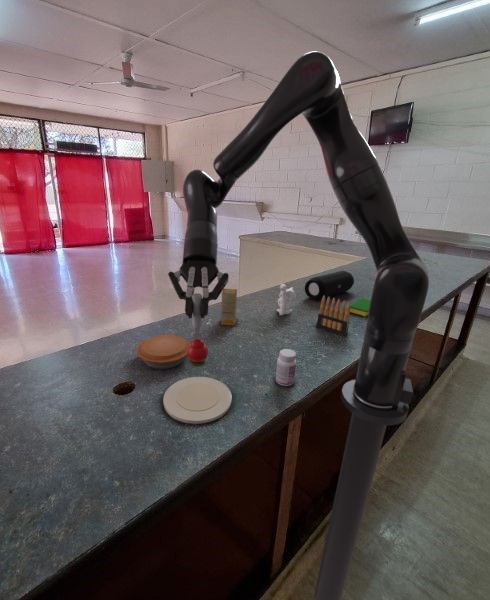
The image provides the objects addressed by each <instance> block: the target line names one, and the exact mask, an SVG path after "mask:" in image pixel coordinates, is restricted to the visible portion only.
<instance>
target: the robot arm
mask: <svg viewBox="0 0 490 600" xmlns="http://www.w3.org/2000/svg"><path fill="white" fill-rule="evenodd" d="M300 115H302V116H303V117H304V119H305V120H306V122H307V123H308V125H309V127H310V128H311V130H312V133H313V134H314V136H315V137H316V139H317V141H318V144H319V146H320V149H321V154H322V157H323V161H324V165H325V166H324V167H325V170H326V174H327V177H328V180H329V184H330V186H331V189H332V190H333V192H334V195H335V198H336V199H337V201H338V203H339V205H340V208H341V209H342V211H343V213H344V215H345V216H346V217H347V219H348V220H349V221H350V223H351V224H352V226H353V227H354V228H355V229H356V231H357V232H358V234H360V236H361V237H362V239H363V240H364V242H365V244H366V245H367V247H368V250H369V252H370V255H371V257H372V261H373V263H374V267H375V269H376V273H377V274H376V276H375V279H374V282H373V286H372V291H371V292H372V293H371V297H370V300H371V302H370V307H369V312H368V315H367V322H366V327H365V331H364V336H363V341H362V346H361V351H360V357H359V361H358V366H357V372H356V376H355V379H356V380H355V379H354V380H355V384H354V388H353V395H354V397H355V398H356V399H357V400H358V401H359V402H360V403H362V404H363V405H365V406H367V407H369V408H372V409H376V410H382V411H386V410H396V411H397V409H398V405H399V402H402V403H404V404H408V405H411V403H412V402H414V401H415V400H416V394H415V392H414V390H413V385H412V380H411V379H410V378H407V375H408V374H407V365H408V361H409V357H410V354H411V350H412V347H413V342H414V338H415V335H416V332H417V329H418V328H419V324H420V322H421V317H422V313H423V310H424V307H425V303H426V300H427V296H428V291H429V287H430V278H429V271H428V268H427V267H426V265H425V263H424V261H423V260H422V259H421V257H420V255H419V254H418V252H417V251H416V249H415V248H414V246H413V244H412V242H411V241H410V239H409V237H408V236H407V234H406V232H405V230H404V228H403V225H402V222H401V219H400V215H399V212H398V210H397V206H396V203H395V200H394V197H393V194H392V192H391V189H390V187H389V184H388V182H387V180H386V177H385V175H384V173H383V170H382V168H381V166H380V164H379V162H378V160H377V158H376V156H375V153H373V150H372V149H371V147H370V146H369V144H368V142H367V141H366V139H365V138H364V136H363V135H362V133H361V132H360V130H359V129H358V126H357V125H356V123H355V121H354V120H353V117H352V114H351V111H350V109H349V106H348V103H347V100H346V97H345V94H344V90H343V87H342V83H341V79H340V76H339V73H338V71H337V69H336V67H335V65H334V63H333V61H332V60H331V59H330V57H329V56H328V55H327V54H325V53H324V52H321V51H316V50H315V51H314V50H313V51H309V52H307V53H304V54H302V55H301V56H300V57H299V58H297V60H296V61H294V62H293V64H292V65H291V66H290V68H289V69H288V70H287V72H286V73H285V74H284V76H283V77H282V78H281V80H280V81H279V82H278V84H277V86H276V87H275V88H274V89H273V91H272V93H271V94H270V95H269V97H268V98H267V99H266V101H264V102H263V104H262V106H261V107H260V108H259V110H258V111H257V112H256V113H255V115H254V116H253V117H252V118H251V120H250V121H248V123H247V124H246V125H245V126H244V127H243V128H242V130H241V131H240V132H239V133H237V135H236V136H235V137H234V138H233V139H232V140H231V141H230V142H229V143H228V144H227V145H226V147H224V148H223V149H222V150H221V151H220V152H219V153H218V155H216V157H215V158H214V159H213V162H212V166H213V169H214V172H215V173H216V175H217V176H218V177H219V179H217V180H215V179H214V178H213V177H211V175H209V174H208V173H206V172H205V171H204V170H202V169H197V168H196V169H193V170H191V171H189V173H187V175H186V176H185V178H184V180H183V184H182V195H183V200H184V205H185V209H186V213H187V219H186V230H185V232H184V233H185V234H184V241H183V242H184V243H183V255H182V264H181V266H180V267H179V270H177V271H175V272H174V271H169V272H168V274H167V275H168V278H169V281H170V283H171V285H172V287H173V289H174V290H175V293H176V295H177V297H178V298H179V300H184V301H185V304H184V312H185V315H186V316H187V318H188V319H193V318H192V313H193V312H192V295H193V294H195V291H196V290H195V289H196V288H202V298H201V318H202V319H205V317H207V316H208V314H209V303H210V302H211V301H216V300H218V298H219V297H220V295H221V294H222V292H223V289H225V287H226V286H227V285H228V282H229V277H230V275H229V273H228V272H224V273H223V272H221V271H220V270H219V268H218V266H217V264H218V246H219V244H218V213H217V210H216V209H217V208H219V207H220V206H221V205H222V203H223V202H224V201H225V199H226V197H227V195H228V194H229V192H230V191H231V189H232V188H233V186H234V185H235V184H236V182H237V181H238V180H239V179H240V178H241V177H242V176H243V175H245V174H246V172H247V171H248V170H250V169H251V168H252V167H253V166H254V165H255V164H256V163H257V162H258V161H259V159H260V158H261V157H262V156H263V154H265V151H266V150H267V149H268V147H269V145H270V144H271V142H272V141H273V140H274V139H275V137H276V136H277V135H278V134H279V133H280V132H281V131H282V130H283V128H285V127H286V126H287V125H288V124H289V123H290V122H292V121H294V119H295V118H297V117H298V116H300ZM181 277H182V279H183V281H185V283H186V290H183V288H182V286H181V284H180V281H181ZM215 279H217V283H216V284H215V286H214V287H213V289H212V290H211V291H209V290H210V289H209V286H210V285H211V284H212V283H213V282H214V281H215Z"/></svg>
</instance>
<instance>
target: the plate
mask: <svg viewBox="0 0 490 600" xmlns="http://www.w3.org/2000/svg"><path fill="white" fill-rule="evenodd" d="M162 398H163V399H162V403H163V409H164V410H165V412H166V413H167V415H169V416H170V417H171V418H172V419H174V420H175V421H178V422H181V423H186V424H191V425H192V424H193V425H197V424H198V425H200V424H207V423H211V422H214V421H216V420H218V419H220V418H222V417H223V416H224V415H226V414H227V413H228V411H229V410H230V408H231V406H232V401H233V395H232V391H231V390H230V388H229V387H228V385H226V384H225V383H224V382H222V381H220V380H218V379H216V378H212V377H207V376H191V377H187V378H183V379H180V380H178V381H176V382H174V383H173V384H171V385H170V386H169V387H168V388H167V389H166V390H165V392H164V394H163V397H162Z"/></svg>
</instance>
